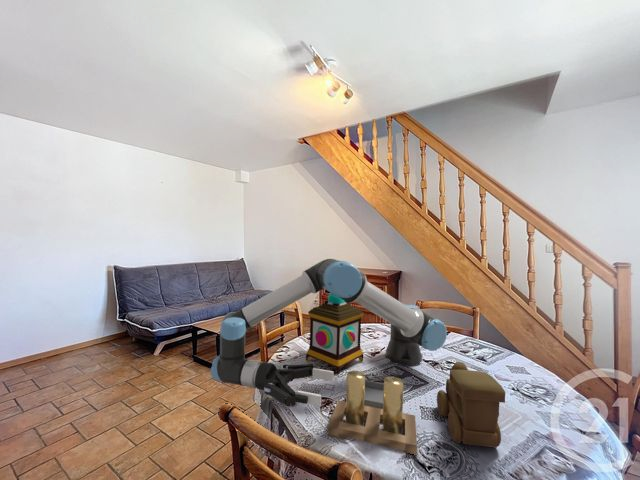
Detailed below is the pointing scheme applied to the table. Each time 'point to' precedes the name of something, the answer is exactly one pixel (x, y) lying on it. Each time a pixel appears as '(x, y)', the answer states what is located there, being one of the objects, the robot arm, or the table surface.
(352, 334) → the decorative lantern
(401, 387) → the cylinder
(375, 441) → the wooden holder frame
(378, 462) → the table surface
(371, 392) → the grey square tray
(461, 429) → the wooden toy train
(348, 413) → the cylinder
